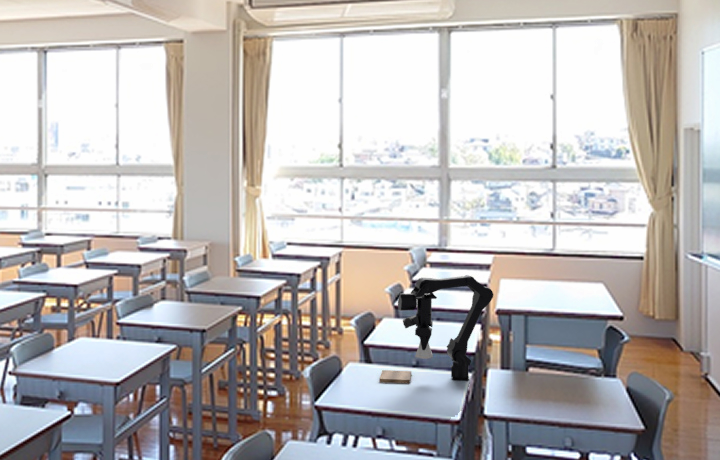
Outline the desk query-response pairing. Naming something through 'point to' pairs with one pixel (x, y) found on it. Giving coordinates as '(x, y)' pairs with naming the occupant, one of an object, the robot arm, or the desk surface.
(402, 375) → the flat brown panel
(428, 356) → the flask
